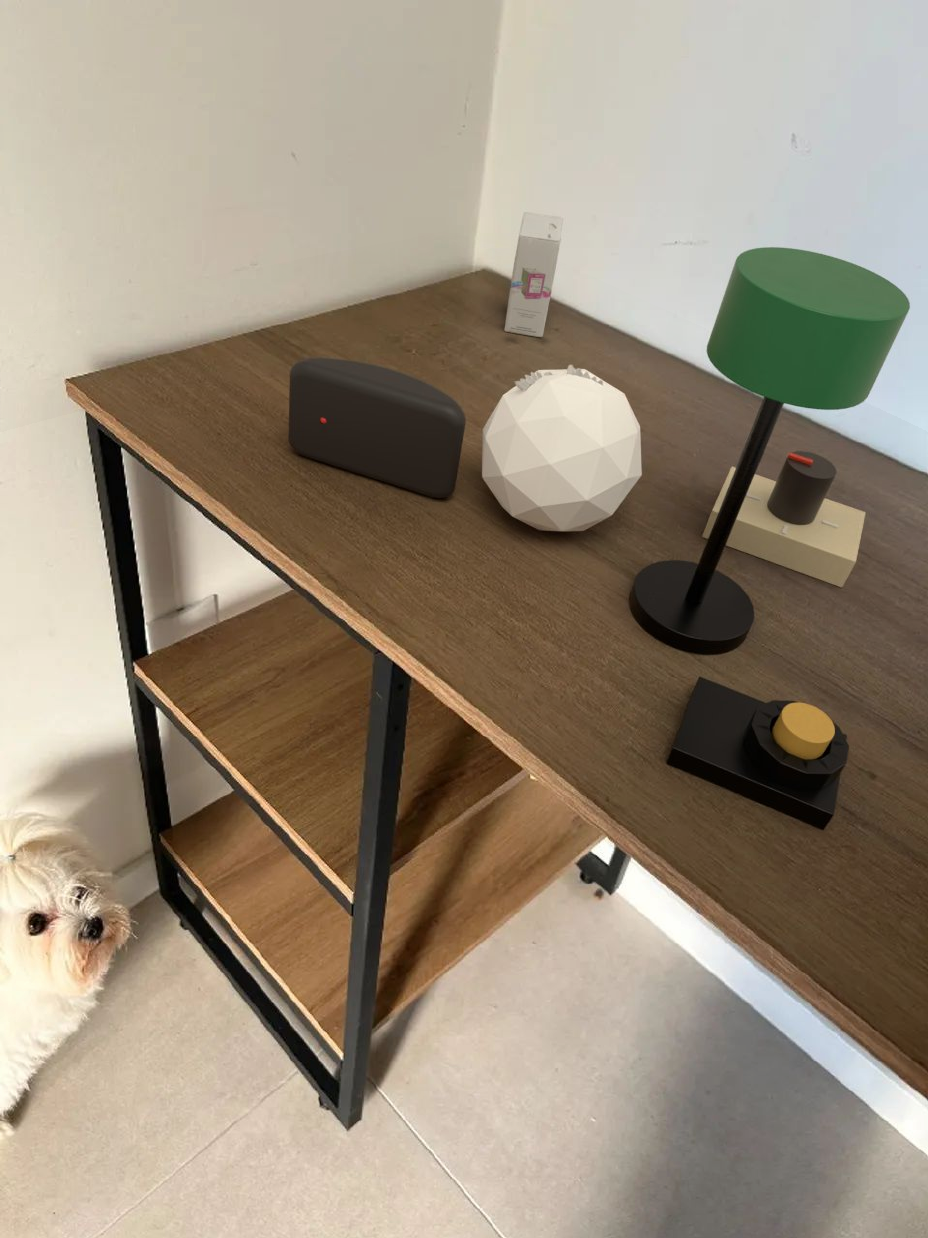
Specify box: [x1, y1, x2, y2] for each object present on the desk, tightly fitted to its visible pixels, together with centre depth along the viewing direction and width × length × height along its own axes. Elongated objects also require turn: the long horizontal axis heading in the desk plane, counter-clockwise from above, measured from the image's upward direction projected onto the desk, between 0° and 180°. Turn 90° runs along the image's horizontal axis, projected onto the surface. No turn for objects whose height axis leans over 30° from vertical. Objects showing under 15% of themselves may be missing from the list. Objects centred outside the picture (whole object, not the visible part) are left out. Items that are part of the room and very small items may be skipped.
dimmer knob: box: [767, 450, 837, 525], centre depth 84 cm, size 4×4×5 cm
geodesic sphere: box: [481, 364, 643, 532], centre depth 80 cm, size 15×14×14 cm
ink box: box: [503, 211, 564, 338], centre depth 112 cm, size 8×5×12 cm, turn 174°
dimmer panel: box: [701, 466, 866, 588], centre depth 86 cm, size 13×9×3 cm
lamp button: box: [773, 702, 835, 759], centre depth 63 cm, size 4×4×2 cm
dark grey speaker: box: [287, 357, 467, 499], centre depth 83 cm, size 16×5×9 cm, turn 71°
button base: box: [666, 675, 850, 831], centre depth 65 cm, size 11×8×4 cm
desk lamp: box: [628, 246, 911, 656], centre depth 68 cm, size 11×11×28 cm
